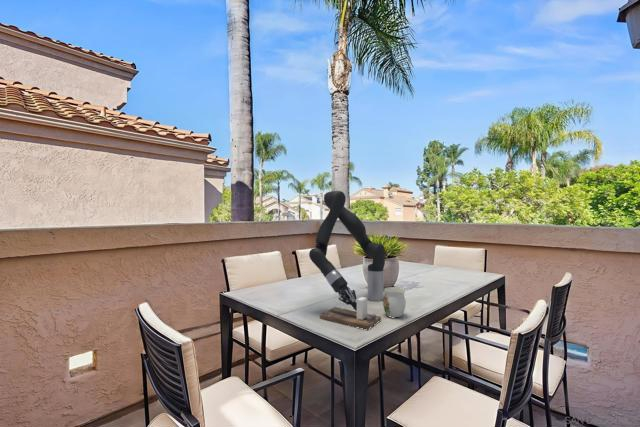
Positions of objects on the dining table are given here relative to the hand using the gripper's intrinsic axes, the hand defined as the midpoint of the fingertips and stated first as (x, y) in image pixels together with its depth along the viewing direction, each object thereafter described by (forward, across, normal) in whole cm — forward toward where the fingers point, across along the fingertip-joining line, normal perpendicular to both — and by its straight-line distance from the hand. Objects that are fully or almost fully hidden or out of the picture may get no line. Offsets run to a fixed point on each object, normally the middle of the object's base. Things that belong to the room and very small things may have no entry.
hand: (358, 309), depth 149 cm
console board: (+1, 0, +7) cm, 7 cm away
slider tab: (+4, 0, +1) cm, 4 cm away
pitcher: (+12, +18, -3) cm, 22 cm away
